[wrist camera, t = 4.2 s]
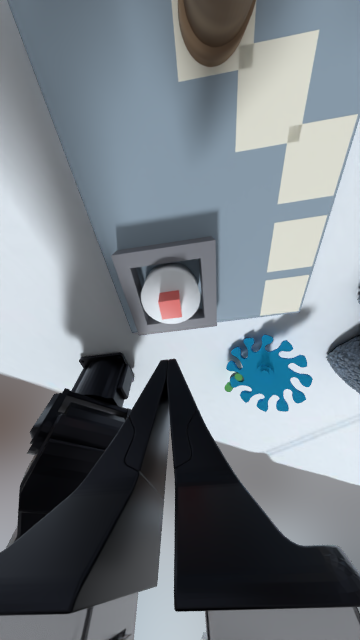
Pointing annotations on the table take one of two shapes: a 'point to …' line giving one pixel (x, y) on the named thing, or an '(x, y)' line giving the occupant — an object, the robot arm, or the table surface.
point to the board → (202, 143)
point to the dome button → (170, 293)
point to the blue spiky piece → (267, 373)
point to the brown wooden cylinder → (213, 28)
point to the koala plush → (347, 361)
